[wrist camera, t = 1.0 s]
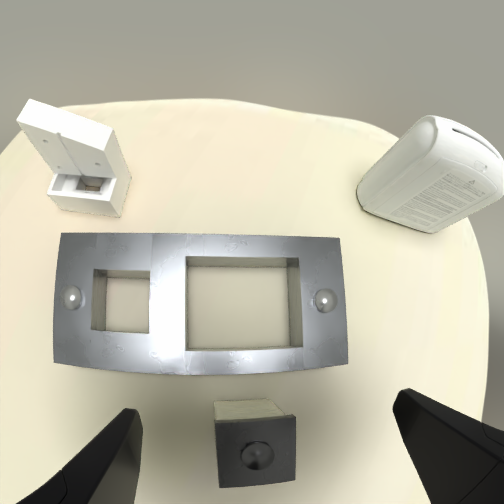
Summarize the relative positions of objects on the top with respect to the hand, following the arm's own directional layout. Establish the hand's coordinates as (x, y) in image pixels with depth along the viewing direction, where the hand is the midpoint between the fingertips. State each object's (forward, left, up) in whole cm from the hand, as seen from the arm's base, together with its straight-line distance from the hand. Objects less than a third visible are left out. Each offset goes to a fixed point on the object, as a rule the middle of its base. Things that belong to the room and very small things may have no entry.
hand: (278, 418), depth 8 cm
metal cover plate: (+5, +3, -12) cm, 13 cm away
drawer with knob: (-4, 0, -12) cm, 13 cm away
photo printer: (+14, -16, -12) cm, 25 cm away
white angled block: (+14, +12, -13) cm, 22 cm away
